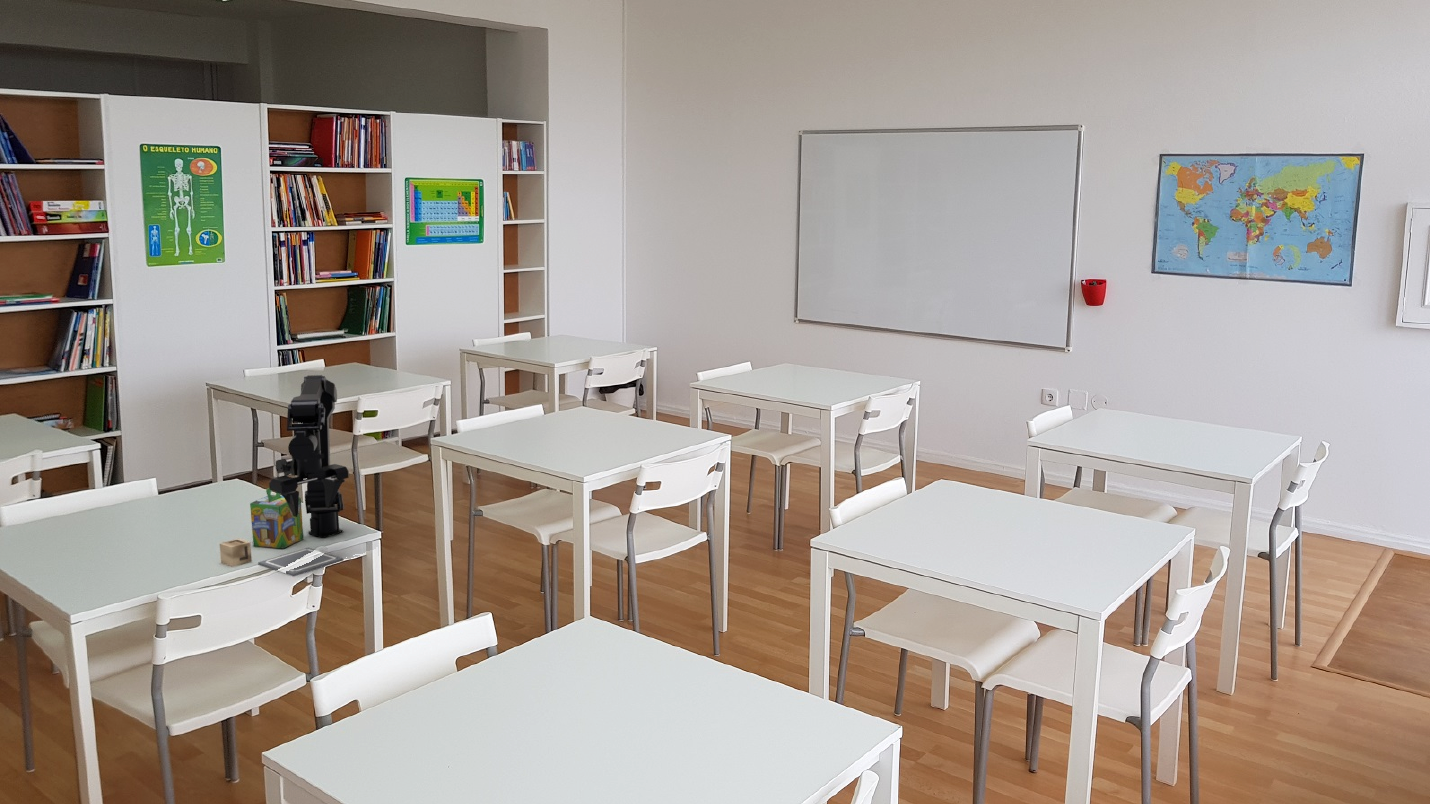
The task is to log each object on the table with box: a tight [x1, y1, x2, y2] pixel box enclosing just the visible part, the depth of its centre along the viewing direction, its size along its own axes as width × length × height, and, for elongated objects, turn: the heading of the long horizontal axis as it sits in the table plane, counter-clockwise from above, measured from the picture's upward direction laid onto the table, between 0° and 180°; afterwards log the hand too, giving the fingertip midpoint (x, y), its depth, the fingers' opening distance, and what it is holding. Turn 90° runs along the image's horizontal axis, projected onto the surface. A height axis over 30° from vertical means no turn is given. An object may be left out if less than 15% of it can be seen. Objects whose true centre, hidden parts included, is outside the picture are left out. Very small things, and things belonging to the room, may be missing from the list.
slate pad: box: [257, 547, 344, 577], centre depth 271 cm, size 14×14×1 cm
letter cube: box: [219, 538, 253, 568], centre depth 270 cm, size 5×5×5 cm
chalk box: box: [249, 487, 304, 549], centre depth 284 cm, size 9×9×15 cm
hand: (312, 512), depth 271 cm, fingers open, 9 cm apart
